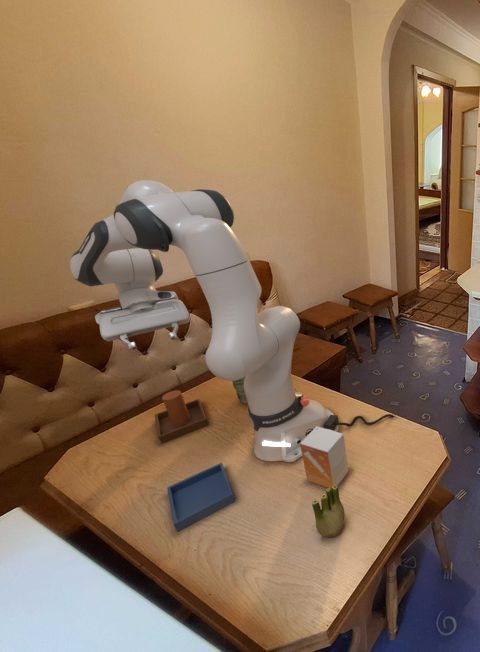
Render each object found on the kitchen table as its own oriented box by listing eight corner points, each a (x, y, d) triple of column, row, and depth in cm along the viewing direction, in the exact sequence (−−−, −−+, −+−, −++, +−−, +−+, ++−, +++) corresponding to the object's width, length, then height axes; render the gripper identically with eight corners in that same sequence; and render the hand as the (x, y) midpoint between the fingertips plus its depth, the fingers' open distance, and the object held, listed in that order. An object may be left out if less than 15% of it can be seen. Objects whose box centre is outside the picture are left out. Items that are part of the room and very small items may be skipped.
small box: (307, 482, 90) (298, 443, 85) (323, 462, 96) (316, 425, 90) (334, 491, 88) (327, 452, 83) (349, 470, 93) (344, 433, 88)
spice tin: (189, 414, 110) (179, 388, 106) (191, 422, 107) (182, 395, 103) (171, 421, 108) (161, 394, 104) (173, 429, 105) (162, 402, 101)
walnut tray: (201, 404, 115) (199, 398, 114) (208, 425, 107) (206, 418, 106) (157, 420, 108) (154, 414, 107) (161, 443, 100) (158, 437, 99)
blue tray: (224, 469, 93) (221, 462, 92) (235, 501, 85) (232, 493, 84) (170, 494, 86) (167, 487, 85) (177, 532, 78) (173, 524, 77)
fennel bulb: (319, 544, 76) (311, 506, 71) (318, 524, 80) (310, 486, 75) (347, 534, 78) (341, 496, 73) (345, 514, 82) (338, 477, 78)
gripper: (89, 307, 99) (103, 352, 96) (181, 290, 111) (194, 329, 109) (96, 316, 103) (109, 359, 101) (183, 299, 116) (196, 336, 114)
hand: (154, 343), depth 105 cm, fingers open, 8 cm apart
